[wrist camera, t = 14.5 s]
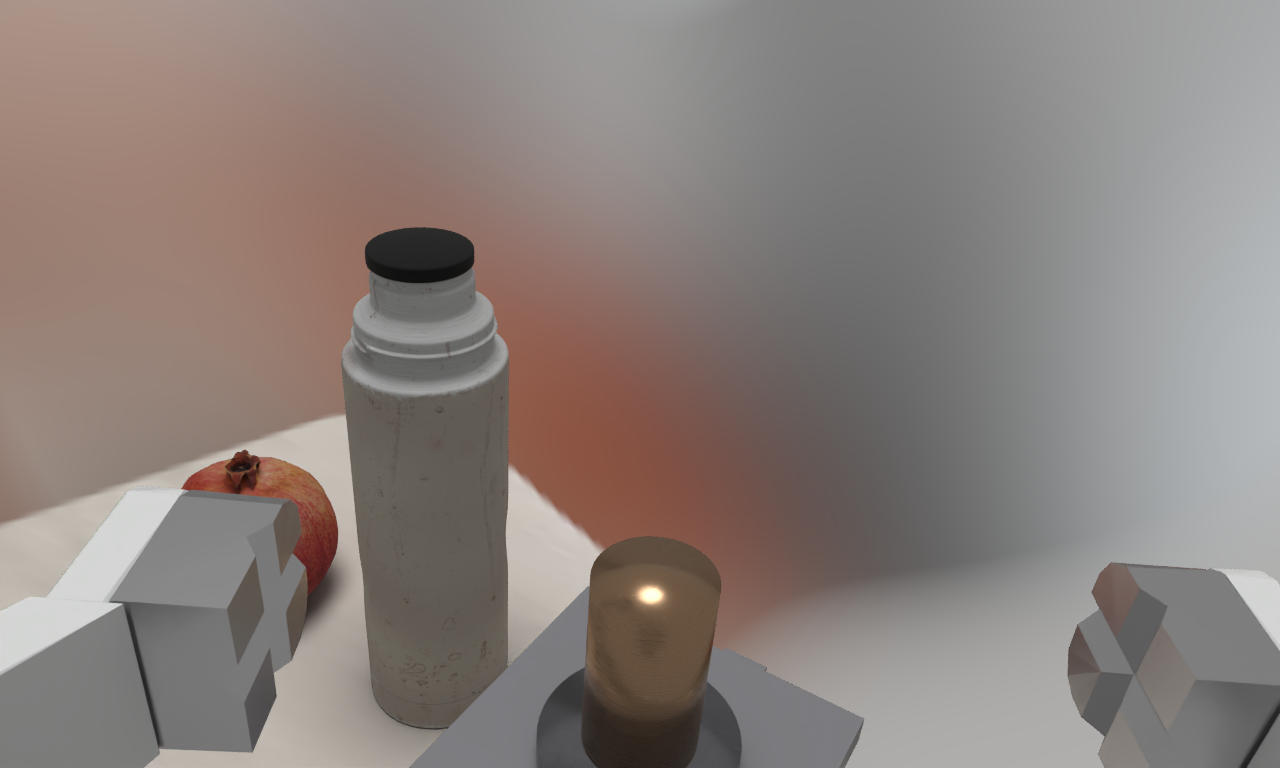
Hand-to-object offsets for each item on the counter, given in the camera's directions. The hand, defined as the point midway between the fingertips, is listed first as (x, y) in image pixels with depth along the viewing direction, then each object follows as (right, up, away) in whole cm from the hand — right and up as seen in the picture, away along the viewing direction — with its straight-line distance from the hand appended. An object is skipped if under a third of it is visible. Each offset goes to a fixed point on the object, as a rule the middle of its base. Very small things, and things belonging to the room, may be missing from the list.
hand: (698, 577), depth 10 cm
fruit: (-25, -12, +55) cm, 61 cm away
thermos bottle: (-13, -16, +50) cm, 53 cm away
